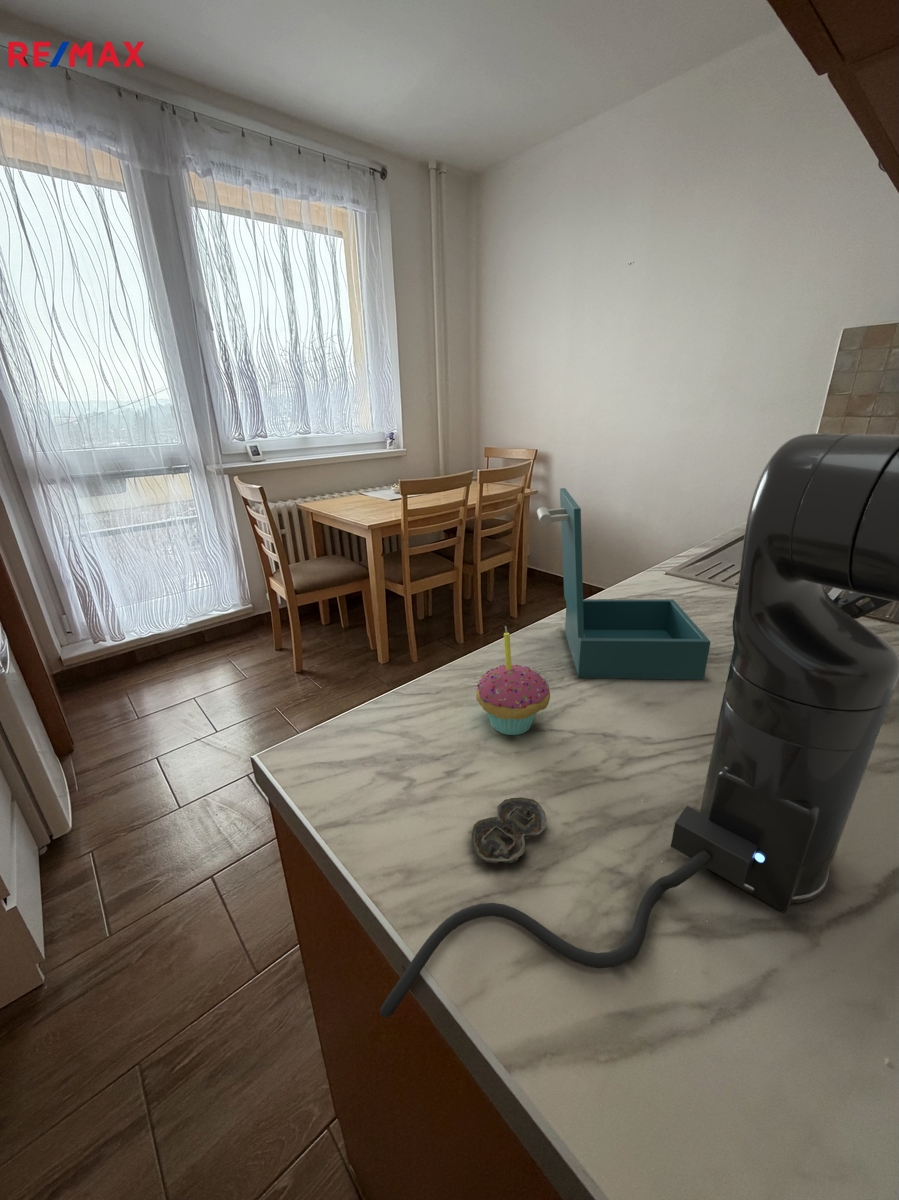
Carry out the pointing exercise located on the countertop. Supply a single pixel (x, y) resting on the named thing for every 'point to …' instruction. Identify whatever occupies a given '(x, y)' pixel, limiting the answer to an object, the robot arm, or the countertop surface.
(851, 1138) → the countertop surface
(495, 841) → the corroded twin loop
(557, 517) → the chest lid
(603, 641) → the chest
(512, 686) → the cupcake
